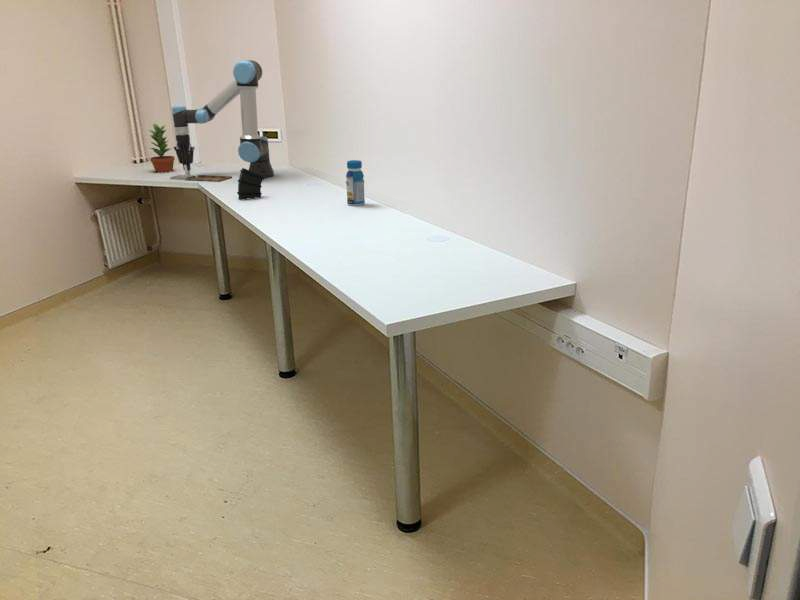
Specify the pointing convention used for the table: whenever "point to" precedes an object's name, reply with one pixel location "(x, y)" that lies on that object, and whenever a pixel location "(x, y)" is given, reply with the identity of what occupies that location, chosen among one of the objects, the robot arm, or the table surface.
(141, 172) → the table surface
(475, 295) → the table surface
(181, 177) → the cover plate
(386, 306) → the table surface
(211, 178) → the brown wooden tray
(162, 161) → the potted plant
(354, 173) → the beverage bottle
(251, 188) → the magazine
